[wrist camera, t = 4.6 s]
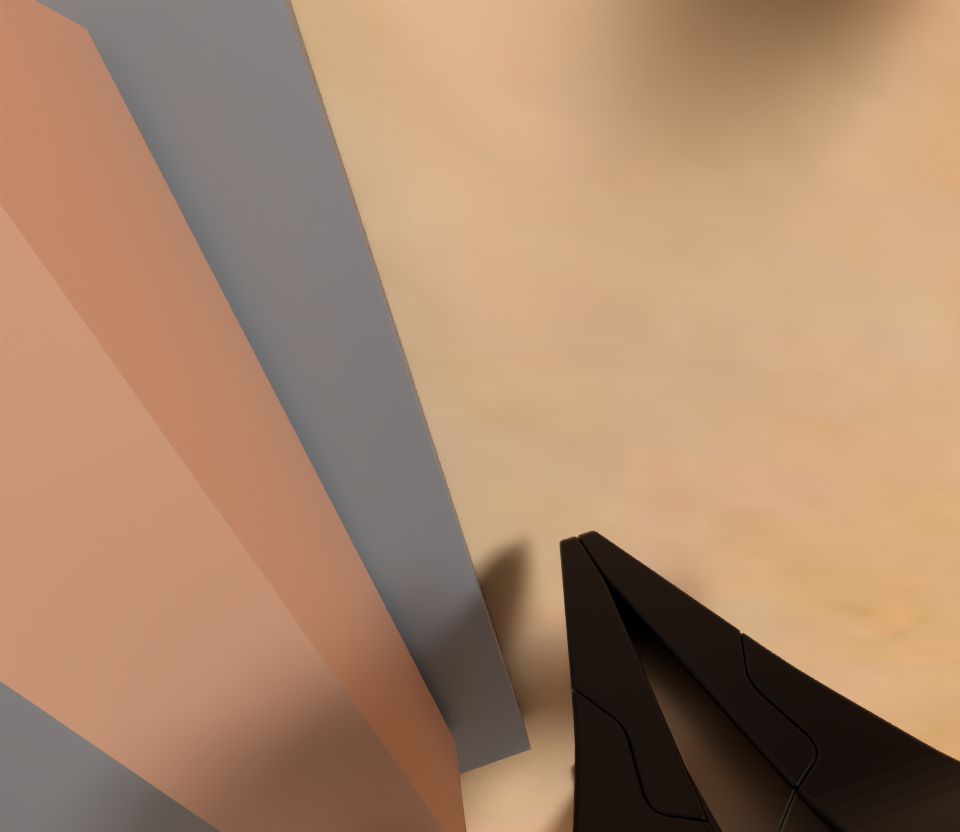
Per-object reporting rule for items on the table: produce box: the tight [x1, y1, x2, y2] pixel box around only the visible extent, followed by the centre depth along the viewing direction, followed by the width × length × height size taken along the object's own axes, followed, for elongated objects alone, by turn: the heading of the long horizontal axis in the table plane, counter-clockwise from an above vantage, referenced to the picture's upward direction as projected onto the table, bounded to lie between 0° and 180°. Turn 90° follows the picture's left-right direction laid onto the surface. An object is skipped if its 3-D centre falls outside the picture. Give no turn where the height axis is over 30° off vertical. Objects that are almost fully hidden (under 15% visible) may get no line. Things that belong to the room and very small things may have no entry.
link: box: [0, 0, 466, 832], centre depth 7 cm, size 18×4×4 cm, turn 13°
